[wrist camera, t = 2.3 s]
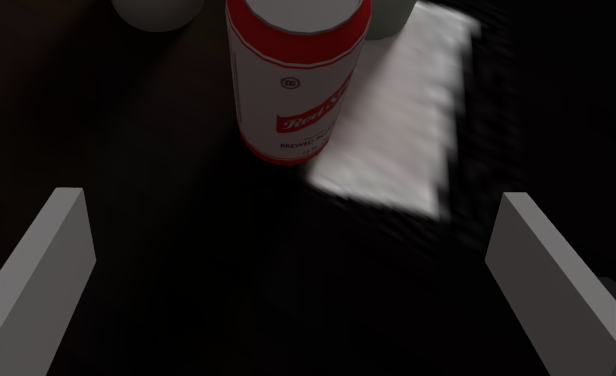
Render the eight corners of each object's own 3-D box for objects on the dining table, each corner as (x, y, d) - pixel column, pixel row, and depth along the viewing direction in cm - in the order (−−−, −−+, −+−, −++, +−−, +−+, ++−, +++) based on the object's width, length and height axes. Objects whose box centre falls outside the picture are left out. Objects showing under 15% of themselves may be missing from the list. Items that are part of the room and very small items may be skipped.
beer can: (350, 129, 36) (415, -17, 21) (282, 189, 35) (298, 78, 19) (288, 66, 37) (306, -121, 22) (218, 121, 36) (186, -36, 20)
